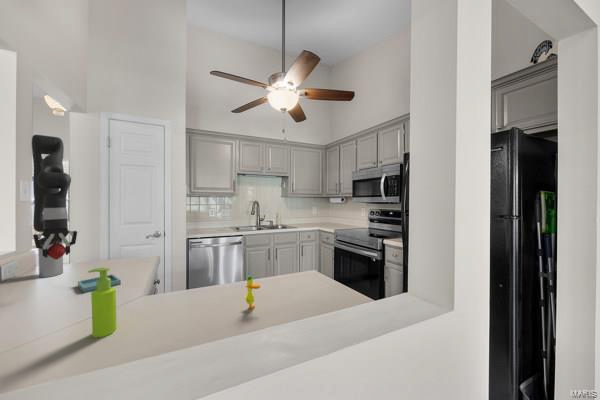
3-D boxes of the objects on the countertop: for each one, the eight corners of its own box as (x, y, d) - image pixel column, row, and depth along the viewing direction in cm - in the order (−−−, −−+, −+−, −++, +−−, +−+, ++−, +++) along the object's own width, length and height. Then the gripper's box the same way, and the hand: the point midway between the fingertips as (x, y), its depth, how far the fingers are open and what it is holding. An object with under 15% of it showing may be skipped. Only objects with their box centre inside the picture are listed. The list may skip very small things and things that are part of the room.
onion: (69, 257, 111) (69, 240, 111) (55, 261, 105) (54, 242, 105) (58, 257, 111) (57, 240, 111) (43, 261, 106) (43, 242, 105)
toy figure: (262, 306, 93) (261, 275, 93) (258, 310, 90) (258, 278, 89) (245, 304, 95) (245, 274, 94) (241, 309, 91) (241, 277, 91)
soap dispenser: (98, 328, 79) (96, 266, 79) (120, 326, 80) (119, 265, 79) (83, 338, 73) (81, 272, 73) (108, 337, 74) (106, 271, 73)
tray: (77, 286, 117) (77, 281, 117) (113, 278, 127) (112, 274, 127) (83, 293, 108) (83, 288, 108) (120, 284, 118) (120, 279, 118)
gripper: (76, 216, 116) (77, 251, 116) (31, 218, 105) (32, 257, 105) (78, 217, 111) (79, 254, 111) (31, 219, 100) (32, 260, 100)
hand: (56, 255), depth 108 cm, fingers closed on onion, 6 cm apart
